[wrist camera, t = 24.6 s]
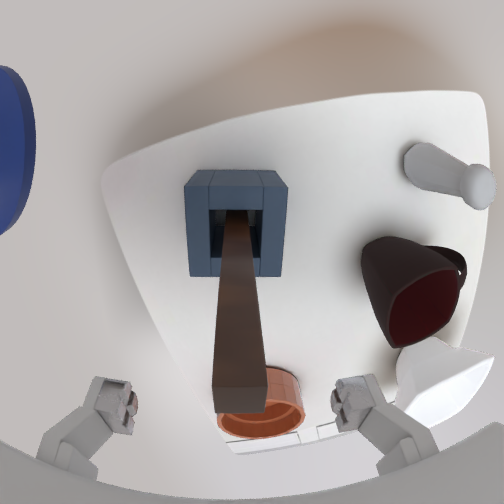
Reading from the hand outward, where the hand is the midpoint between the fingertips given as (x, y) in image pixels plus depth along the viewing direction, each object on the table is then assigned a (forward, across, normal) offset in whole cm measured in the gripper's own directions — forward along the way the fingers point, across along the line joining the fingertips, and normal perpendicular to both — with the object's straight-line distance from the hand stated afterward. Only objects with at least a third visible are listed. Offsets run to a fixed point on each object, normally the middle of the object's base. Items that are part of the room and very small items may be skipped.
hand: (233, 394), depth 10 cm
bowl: (+23, -34, +27) cm, 50 cm away
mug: (+24, -22, +6) cm, 32 cm away
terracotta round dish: (+24, -4, +33) cm, 41 cm away
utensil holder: (+24, 0, 0) cm, 24 cm away
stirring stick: (+24, 0, 0) cm, 24 cm away
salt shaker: (+24, -22, -7) cm, 33 cm away
